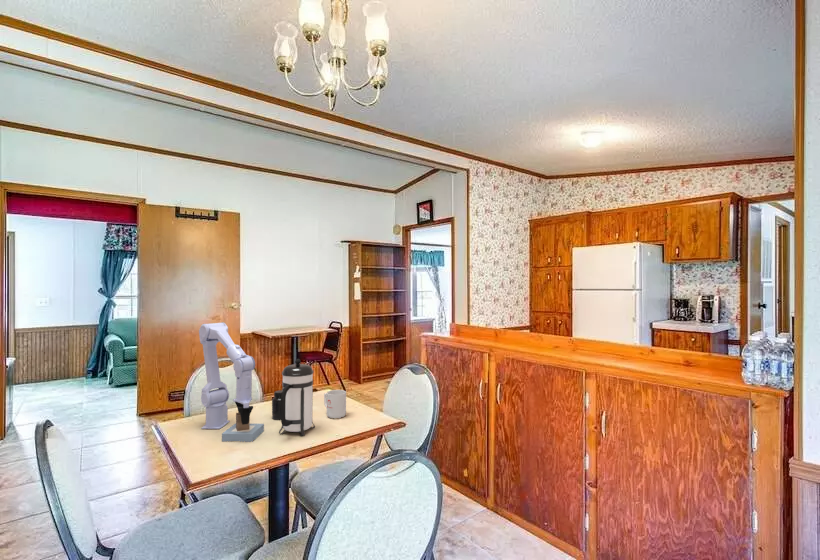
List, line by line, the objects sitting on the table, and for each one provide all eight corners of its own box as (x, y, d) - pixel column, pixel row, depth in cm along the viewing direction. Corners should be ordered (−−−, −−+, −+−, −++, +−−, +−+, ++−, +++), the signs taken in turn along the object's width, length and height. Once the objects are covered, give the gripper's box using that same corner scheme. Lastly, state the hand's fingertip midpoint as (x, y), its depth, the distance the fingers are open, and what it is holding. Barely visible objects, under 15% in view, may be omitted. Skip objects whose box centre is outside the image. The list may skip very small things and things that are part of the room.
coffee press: (272, 428, 176) (273, 357, 176) (310, 423, 183) (311, 354, 184) (280, 442, 161) (281, 364, 161) (321, 435, 168) (322, 361, 168)
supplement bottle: (282, 414, 195) (282, 388, 195) (290, 417, 191) (290, 391, 191) (268, 418, 190) (269, 391, 190) (277, 421, 185) (277, 394, 185)
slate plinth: (235, 430, 173) (235, 423, 173) (263, 430, 173) (263, 423, 173) (221, 441, 161) (221, 433, 161) (252, 441, 161) (252, 434, 161)
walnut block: (235, 427, 168) (236, 412, 168) (247, 425, 170) (247, 411, 170) (237, 431, 164) (237, 415, 164) (249, 429, 166) (249, 414, 166)
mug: (349, 415, 194) (350, 391, 194) (336, 420, 187) (336, 395, 187) (331, 411, 201) (331, 387, 201) (317, 415, 194) (317, 391, 194)
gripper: (231, 384, 172) (230, 417, 172) (235, 392, 159) (235, 428, 159) (249, 382, 175) (249, 415, 175) (254, 390, 163) (254, 425, 162)
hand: (243, 421), depth 167 cm, fingers open, 7 cm apart
